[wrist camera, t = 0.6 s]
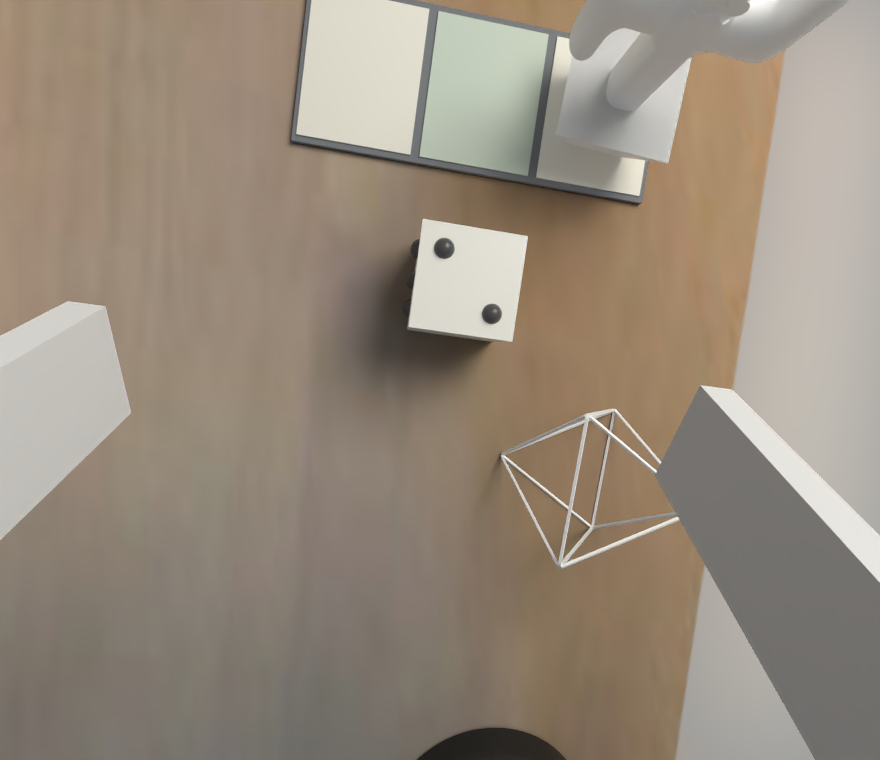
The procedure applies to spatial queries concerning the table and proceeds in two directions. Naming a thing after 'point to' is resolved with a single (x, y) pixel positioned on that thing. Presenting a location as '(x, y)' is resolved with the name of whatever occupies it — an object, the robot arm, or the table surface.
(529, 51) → the game mat
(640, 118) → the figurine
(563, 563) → the geometric polyhedron
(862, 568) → the robot arm
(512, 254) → the die
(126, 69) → the table surface
